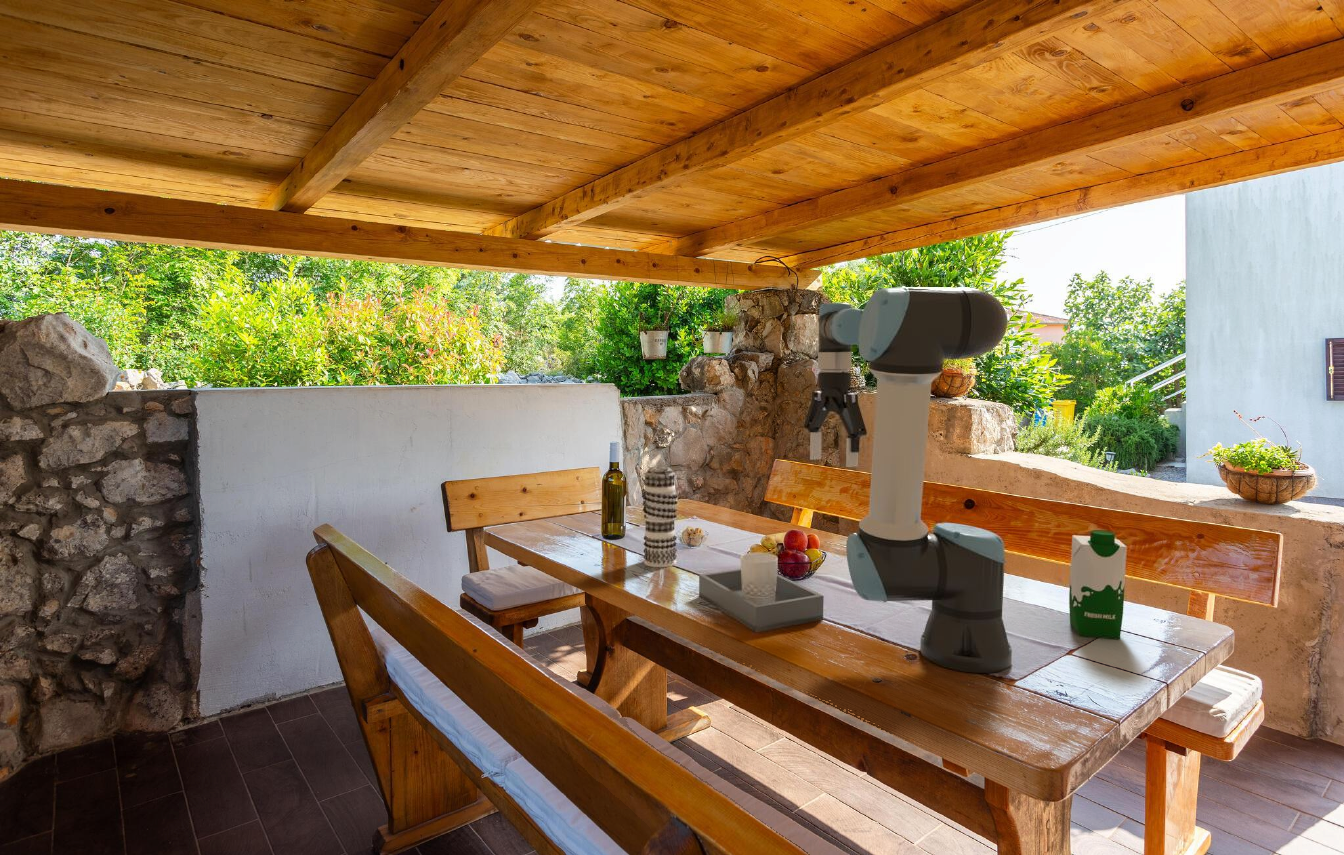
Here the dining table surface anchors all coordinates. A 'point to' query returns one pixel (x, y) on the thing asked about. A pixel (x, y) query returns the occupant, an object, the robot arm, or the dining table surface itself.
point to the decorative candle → (659, 517)
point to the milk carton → (1097, 584)
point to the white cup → (759, 577)
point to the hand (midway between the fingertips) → (833, 463)
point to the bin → (787, 609)
